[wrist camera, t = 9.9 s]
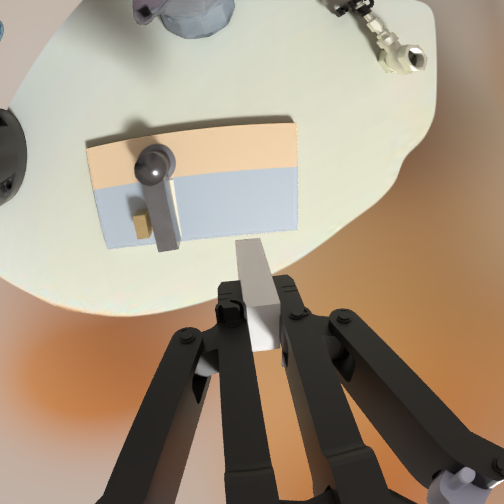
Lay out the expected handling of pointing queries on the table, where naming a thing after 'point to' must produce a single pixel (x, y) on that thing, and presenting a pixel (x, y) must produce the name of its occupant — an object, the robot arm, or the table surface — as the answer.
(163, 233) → the latch bar
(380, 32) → the valve
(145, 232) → the block
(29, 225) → the table surface
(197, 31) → the moka pot
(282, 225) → the door panel
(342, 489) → the robot arm
